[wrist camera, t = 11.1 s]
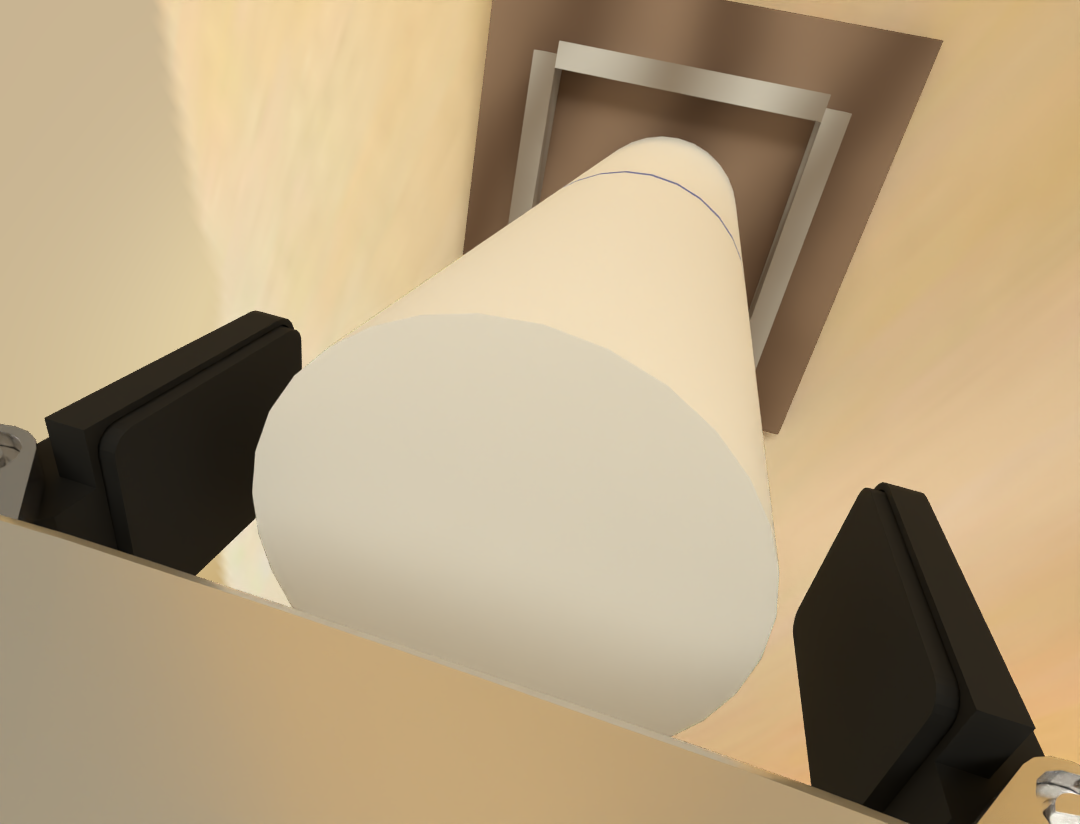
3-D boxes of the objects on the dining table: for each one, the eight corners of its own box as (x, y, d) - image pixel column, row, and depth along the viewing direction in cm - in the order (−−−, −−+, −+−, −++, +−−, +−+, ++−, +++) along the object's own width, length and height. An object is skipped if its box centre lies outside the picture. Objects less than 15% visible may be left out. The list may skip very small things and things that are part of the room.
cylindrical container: (753, 267, 30) (838, 745, 8) (609, 312, 33) (394, 762, 11) (711, 109, 28) (677, 218, 6) (559, 172, 30) (157, 402, 9)
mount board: (933, 42, 26) (955, 38, 23) (776, 423, 35) (780, 448, 32) (505, -38, 28) (486, -48, 26) (459, 340, 37) (442, 357, 34)
